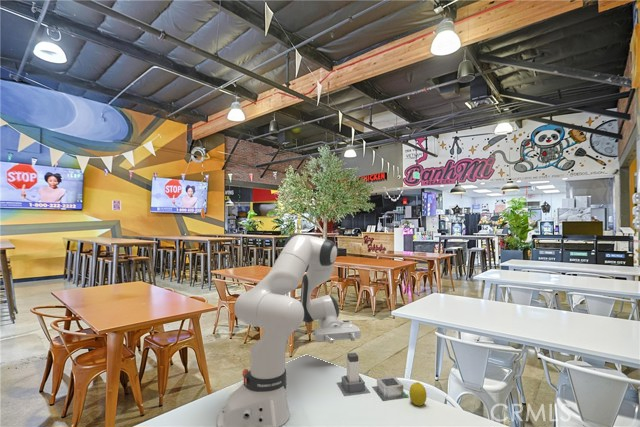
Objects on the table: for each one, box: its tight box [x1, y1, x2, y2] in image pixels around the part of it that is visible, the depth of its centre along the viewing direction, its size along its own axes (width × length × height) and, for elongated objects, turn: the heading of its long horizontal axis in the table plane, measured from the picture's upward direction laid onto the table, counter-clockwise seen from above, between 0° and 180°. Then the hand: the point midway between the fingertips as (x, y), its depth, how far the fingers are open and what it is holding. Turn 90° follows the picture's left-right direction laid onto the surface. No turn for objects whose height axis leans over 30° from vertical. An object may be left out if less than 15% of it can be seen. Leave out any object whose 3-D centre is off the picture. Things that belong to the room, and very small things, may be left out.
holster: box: [336, 374, 371, 397], centre depth 118 cm, size 10×10×4 cm
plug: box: [346, 352, 360, 383], centre depth 118 cm, size 4×4×12 cm
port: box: [371, 376, 410, 402], centre depth 114 cm, size 10×10×4 cm
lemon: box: [408, 381, 427, 407], centre depth 107 cm, size 6×6×8 cm
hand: (342, 340), depth 131 cm, fingers open, 8 cm apart
